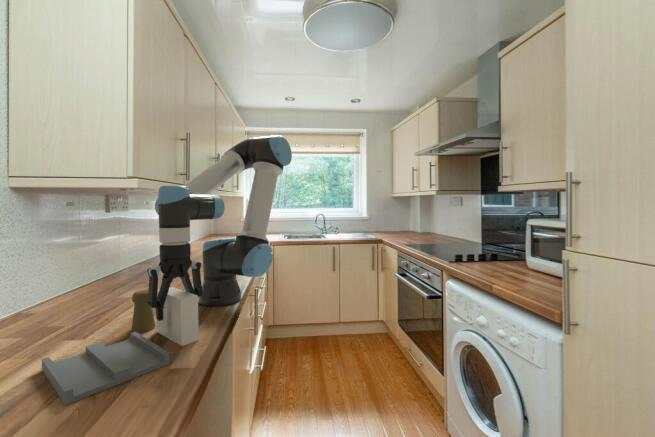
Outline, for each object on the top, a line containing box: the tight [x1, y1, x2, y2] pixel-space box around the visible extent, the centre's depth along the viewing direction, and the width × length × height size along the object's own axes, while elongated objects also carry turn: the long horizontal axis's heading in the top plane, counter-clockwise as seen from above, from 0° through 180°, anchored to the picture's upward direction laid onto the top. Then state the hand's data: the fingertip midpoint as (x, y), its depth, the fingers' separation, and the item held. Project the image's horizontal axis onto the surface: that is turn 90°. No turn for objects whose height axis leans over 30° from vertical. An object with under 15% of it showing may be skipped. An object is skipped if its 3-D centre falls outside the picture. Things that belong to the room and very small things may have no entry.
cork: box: [131, 289, 156, 334], centre depth 90 cm, size 6×6×11 cm
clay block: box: [156, 286, 200, 347], centre depth 84 cm, size 4×14×12 cm, turn 52°
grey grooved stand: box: [41, 332, 171, 406], centre depth 68 cm, size 18×19×2 cm
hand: (177, 326), depth 85 cm, fingers open, 6 cm apart
